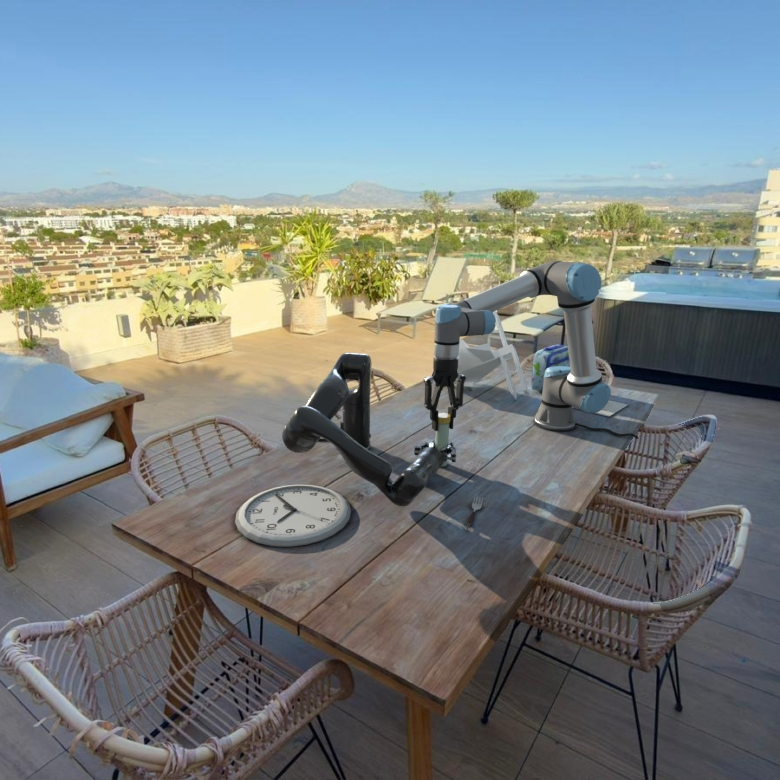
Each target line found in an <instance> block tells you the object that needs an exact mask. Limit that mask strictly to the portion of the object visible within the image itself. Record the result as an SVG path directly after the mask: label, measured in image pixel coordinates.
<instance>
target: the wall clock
mask: <svg viewBox="0 0 780 780" xmlns="http://www.w3.org/2000/svg"><path fill="white" fill-rule="evenodd" d="M351 514H352V509H351V504H350V503H349V501H348V500H347V499H346V498H345V497H344V496H343V495H341V494H340V493H338V492H337V491H335V490H333V489H330V488H327V487H323V486H318V485H313V484H290V485H289V484H288V485H282V486H277V487H272V488H269V489H267V490H264V491H261V492H259V493H257V494H255V495H254V496H252V497H250V498H248V499H247V500H246V501H245V502H244V503H243V504H242V505H240V507H239V509H238V510H237V511H236V514H235V520H234V524H235V526H236V529H237V531H238V532H239V533H240V534H241V535H242V536H243V537H245V538H246V539H248V540H250V541H252V542H254V543H257V544H261V545H266V546H270V547H283V548H284V547H285V548H286V547H287V548H289V547H298V546H306V545H311V544H313V543H319V542H322V541H324V540H327V539H328V538H330V537H332V536H334V535H336V534H337V533H339V532H340V531H341V530H343V529H345V526H346V525H347V524H348V522H350V518H351Z"/></svg>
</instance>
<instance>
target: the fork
mask: <svg viewBox="0 0 780 780" xmlns="http://www.w3.org/2000/svg"><path fill="white" fill-rule="evenodd" d="M483 499H484V496H482V498H481V495H480V496H479V495H476V496H474V498H473V501H472V504H471V508H472V510H473V511H472V512H471V514H470V515H469V517H468V522H467V525H466V530H469V528H470V526H471V524H472V523H473V521H474V519H475V515H476V514H475V513H476V511H478V510H481V509H482V506H483V501H484V500H483Z"/></svg>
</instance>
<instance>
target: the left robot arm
mask: <svg viewBox="0 0 780 780" xmlns="http://www.w3.org/2000/svg"><path fill="white" fill-rule="evenodd" d="M372 365H373V363H372V359H371V356H370V355H369V354H367V353H358V352H357V353H356V352H344V353H342V354H341V355H340V356H339V357H338V359H337V360H336V362H335V363H334V365H333V366H332V368H331V370H330V372H328V374H327V375H326V377H325V378H324V379H323V380H322V381H321V382H320V383H319V384H318V386H317V387H316V388H315V389H314V391H313V392H312V394H311V395H310V397H309V398H308V400H307V401H306V404H305V405H301V406H299V407H297V408H296V409H295V410H294V412H293V413H292V415H291V416H290V418H289V419H288V421H287V423H286V424H285V426H284V427H283V430H282V435H281V439H282V442H283V444H284V446H285V448H287V449H288V450H289V451H290V452H292V453H295V454H305V453H307V452H309V451H311V450H312V449H313V448H314V447H315V446H316V444H317V443H318V442H319V441H320V442H321V441H322V442H323V441H325V442H326V441H327V442H329V443H331V444H332V446H334V447H335V448H336V449H337V450H338V452H339V453H340V455H341V456H342V458H343V460H344V461H345V463H346V465H347V466H348V467H349V469H350V470H351V471H352V472H353V473H354V474H356V475H357V476H359V478H362V479H364V480H366V481H367V482H369V483H370V484H372V485H374V486H375V487H376V488H378V490H379V491H380V492H381V493H382V494H383V495H384V496H385V497H386V498H387V500H388V501H390V502H391V503H393V504H394V505H395V506H397V507H402V508H404V507H407V506H409V505H411V503H413V501H414V500H416V498H417V497H418V496H419V495H420V494H421V493H422V491H423V490H424V488H425V487H426V486H427V483H429V481H431V479H432V478H433V477H434V476H436V474H437V473H438V471H439V470H440V469H441V468H442V467H441V466H442V464H443V462H445V461H447V462H448V461H449V460H450V461H451V462H452V463H456V461H457V448H456V447H455V446H454V443H453V441H448V445H447V446H446V447H444V446H443V447H442V448H440V449H439V448H438V449H437V448H435V439H434V440H432V441H431V442H429V443H428V442H426V441H424V442H422V443H420V444H418V445H416V446H414V451H413V452H414V453H413V454H414V456H415V457H414V459H413V461H412V462H411V463H410V464H409V465H408V466H407V468H405V469H404V470H403V471H402V472H401V473H400V474H399V476H398V477H397V478H396V479H395V480H394V481H393V480H392V479H391V478H390V477H391V475H392V473H393V465H392V464H391V463H390V462H389V461H387V460H386V459H385V458H383V457H381V456H379V455H377V454H376V453H374V452H372V451H371V450H370V448H371V438H372V437H371V436H372V435H371V390H372V389H371V386H372V385H371V384H372V383H371V382H372V369H373V368H372V367H373V366H372ZM347 382H356V383H357V382H358V385H357V386H356V387H352V388H349V386H348V383H347ZM341 409H342V421H340V423H339V425H340V427H339V425H337V424H336V423H335V422H334V421H332V419H333V418H334V417H335V416H337V413H339V411H340V410H341ZM447 455H448V456H447Z"/></svg>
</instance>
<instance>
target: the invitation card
mask: <svg viewBox="0 0 780 780" xmlns="http://www.w3.org/2000/svg"><path fill="white" fill-rule="evenodd" d="M628 406H629V404H627V403H623V402H618V401H614V400H610V399H609V401H608V403H607V404H606V406H605V407H604V408H603V409H602V410H600V411H599V412H597V413H595V414H596V415H600V416H604V417H608V418H609V417H611V416H613V415H614V414H616V413H617V412H619V411H621V410H623V409H624V408H626V407H628ZM573 409H575V410H578V409H577V408H575V407H573Z"/></svg>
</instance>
